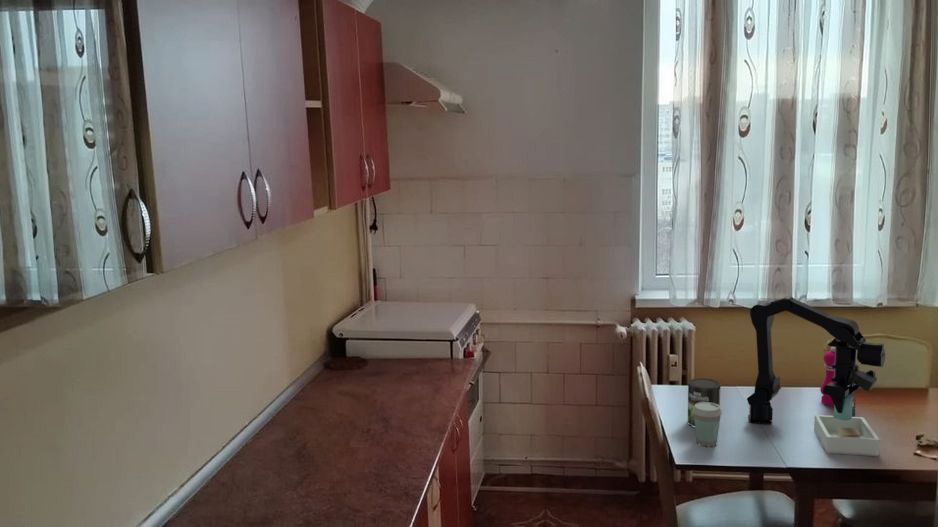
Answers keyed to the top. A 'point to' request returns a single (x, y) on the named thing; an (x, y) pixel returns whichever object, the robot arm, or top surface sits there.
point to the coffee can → (702, 394)
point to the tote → (846, 445)
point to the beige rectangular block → (848, 432)
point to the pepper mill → (828, 374)
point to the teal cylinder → (845, 409)
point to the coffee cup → (707, 423)
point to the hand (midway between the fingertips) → (842, 410)
